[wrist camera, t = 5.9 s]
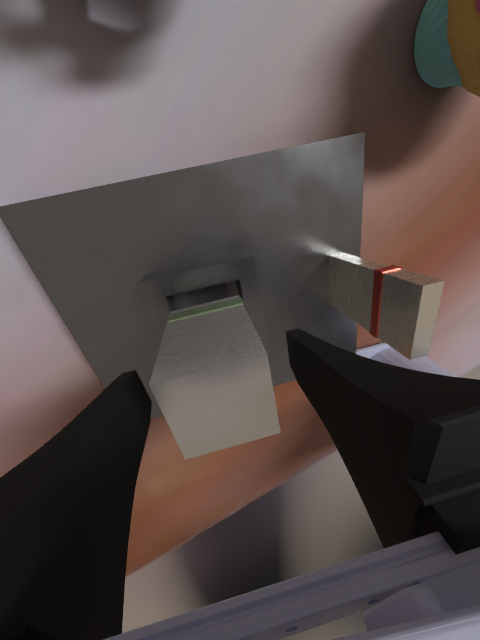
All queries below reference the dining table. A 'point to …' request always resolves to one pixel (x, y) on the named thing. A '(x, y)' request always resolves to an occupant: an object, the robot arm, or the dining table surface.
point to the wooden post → (214, 378)
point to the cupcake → (449, 44)
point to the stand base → (223, 258)
